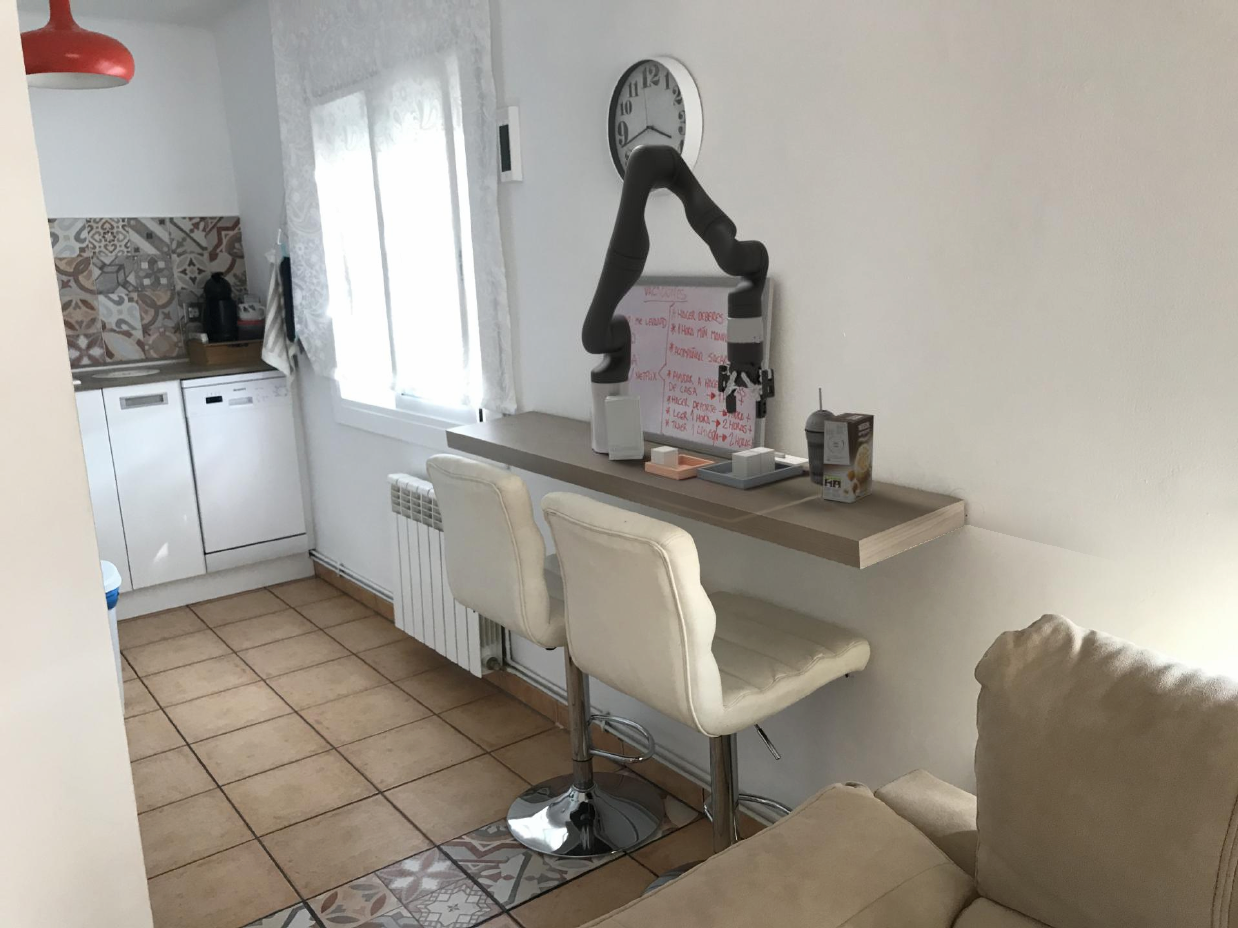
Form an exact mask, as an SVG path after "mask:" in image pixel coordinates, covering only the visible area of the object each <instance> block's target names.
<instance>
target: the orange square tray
mask: <svg viewBox="0 0 1238 928" xmlns="http://www.w3.org/2000/svg"><path fill="white" fill-rule="evenodd" d="M715 464H716V462H715V461H713V460H712V461H711V460H708V459H703V458H700V457H695V456H691V455H687V454H682V453H681V454H678V470H676V469H672V468H668V467H664V466H660V465H656V464H652V463H651V461H648V462H647V461H646V462H644V469H645V470H644V471H645V472H647V473H650V474H654V475H659V476H662V477H665V478H670V479H673V480H677V481H679V480H683V479H687V478H692V477H697V469H698V468H702V467H706V466H710V465H715Z"/></svg>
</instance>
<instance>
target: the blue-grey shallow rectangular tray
mask: <svg viewBox="0 0 1238 928" xmlns="http://www.w3.org/2000/svg"><path fill="white" fill-rule="evenodd" d="M805 465H809V459H808V458H803V457H798V456H794V455H789V454H786V453H783V452H779V451H778V452H777V451H775V471H773V472H769V473H765V474H761V475H757V476H753V477H750V478H746V479H742V478H737V477H733V476H732V460H728V461H723V462H720V463H715V465H710V466H706V467H702V468H698V469H697V475H696V478H697V479H701V480H705V481H709V482H712V483H716V484H721V485H725V486H728V487H733V488H736V489H740V490H746V489H751V488H754V487H758V486H761V485H765V484H769V483H772V482H773V483H774V482H776V481H780V480H784V479H787V478H790V477H795V476H797V475H803V466H805Z"/></svg>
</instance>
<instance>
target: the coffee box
mask: <svg viewBox="0 0 1238 928" xmlns="http://www.w3.org/2000/svg"><path fill="white" fill-rule="evenodd" d="M874 419H875V415H874V414H866V413H856V412H855V413H851V412H844V413H840V414H837V415H835V416H834V417H830V418H827V419H824V422H825V423H824V472H823V473H824V475H823V484H822V499H823V500H829V501H830V500H831V501H835V502H842V503H848V504H851V503H854V502H856V501H858V500H861V499H863V498H865V497H866V496H868V495H870V494H872V492H873V490H872V488H873V458H874V454H873V453H874V422H875V420H874Z"/></svg>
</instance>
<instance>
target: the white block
mask: <svg viewBox="0 0 1238 928" xmlns="http://www.w3.org/2000/svg"><path fill="white" fill-rule="evenodd" d="M678 455H679V449H678V448H676V447H671V446H667V445H664V446H659V447H656V448H655V447H653V448H651V449H650V457H651V458H650V462H651V463H652V464H656V465H660V466H664V467H668V468H672V469H676V470H678Z"/></svg>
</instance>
